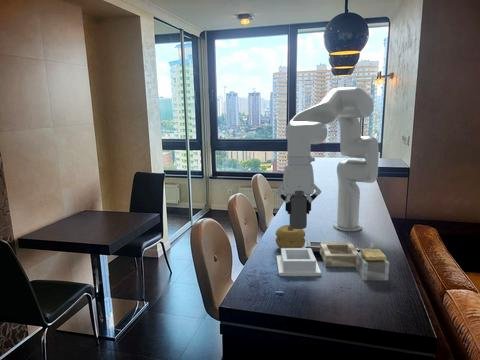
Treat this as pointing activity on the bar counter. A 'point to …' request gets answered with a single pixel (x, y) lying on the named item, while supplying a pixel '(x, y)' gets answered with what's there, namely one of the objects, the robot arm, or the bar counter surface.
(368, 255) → the button
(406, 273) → the bar counter surface
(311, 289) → the bar counter surface
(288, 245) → the pot
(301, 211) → the bottle
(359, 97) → the robot arm
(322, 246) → the socket block
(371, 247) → the pliers
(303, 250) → the cradle
